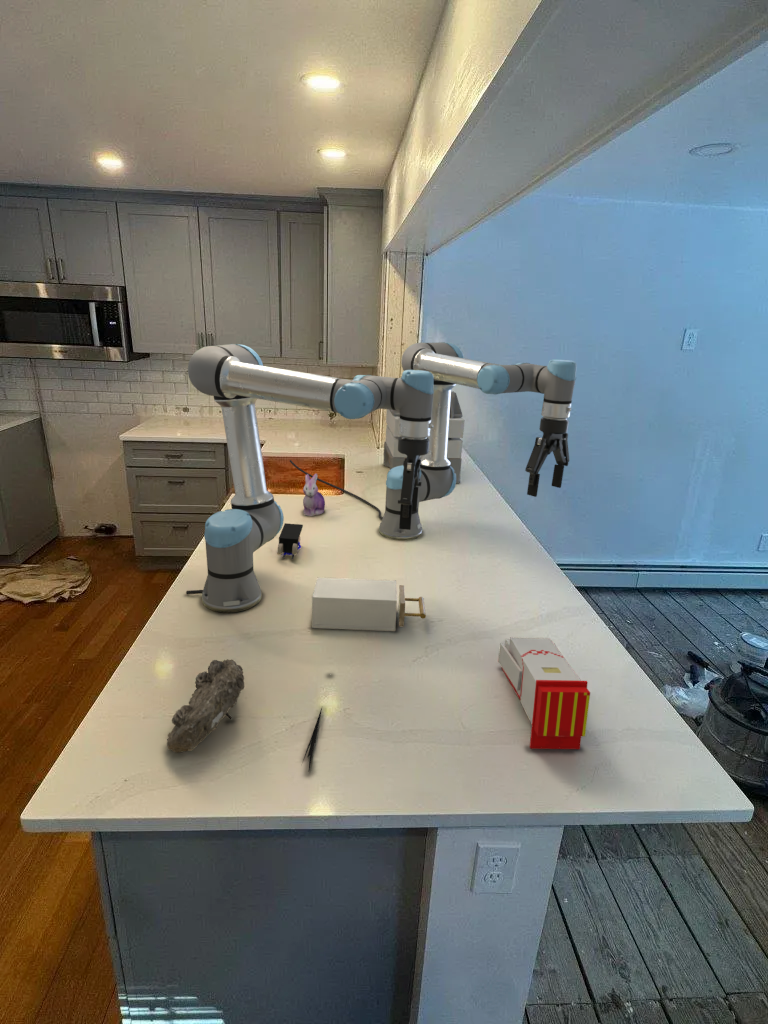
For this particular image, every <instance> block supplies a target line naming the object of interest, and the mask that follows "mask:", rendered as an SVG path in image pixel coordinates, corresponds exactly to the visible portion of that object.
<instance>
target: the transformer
mask: <svg viewBox="0 0 768 1024" xmlns="http://www.w3.org/2000/svg"><path fill="white" fill-rule="evenodd" d="M385 414H386V415H385V423H386V428H385V438H384V442H383V466H384V467H388V468H389V471H390V470H391V469H392V468H394V467H397V466H402V465H403V463H404V461H405V458H407V455H405V454H401V453H400V452H399V451H398V438H399V437H400V435H399V433H398V432H399V418H400V410H391V409H386V413H385ZM464 429H465V419H464V418H463V411H462V408H461V405H460V402H459V398H458V395H457V392H455V391H453V390H451V400H450V415H449V430H448V445H447V459H448V460H449V461H450V463H451V464H450V466H451V467H452V468H453V469H454V473H455V474H456V484H459V483H461V472H462V461H463V460H462V453H463V442H464V441H463V440H462V439H463V438H464V431H465V430H464ZM422 456H423V455H422ZM422 456H420V459H421V458H422Z"/></svg>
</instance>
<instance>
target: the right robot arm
mask: <svg viewBox="0 0 768 1024" xmlns="http://www.w3.org/2000/svg"><path fill="white" fill-rule="evenodd" d="M577 367H578V365H577V362H575V361H574V360H569V359H550V360H549V361H548V364H547V365H541V364H535V363H530V362H518V363H517V362H516V363H515V364H499V363H492V362H488V361H487V362H486V361H480V360H475V359H470V358H465V355H464V353H463V351H462V350H461V348H460V347H459V346H458V345H457V344H455V343H452V342H445V341H444V342H440V341H439V342H415V343H413V344H410V345H409V346H408V347H406V349H405V350H404V351H403V352H402V356H401V368H402V371H405V370H423V371H428V372H431V373H432V374H433V376H434V385H433V391H434V394H433V402H432V413H431V422H430V424H433V428H430V436H429V437H427V438H429V452H428V453H427V454H426V455H423V456H422V458H421V459H420V460H421V466H420V481H419V482H421V486H416V487H419V488H418V501H417V511H412V517H411V529H410V530H406V529H399V524H400V508H401V504H398V500H400V499H401V490H402V482H403V470H404V467H403V465H402V466H397V467H394V468H392V469H391V470H390V469H389V470H388V472H387V475H386V479H385V504H384V505H385V507H384V508H385V509H384V513H383V515H382V511H381V510H380V509H379V508H378V506H376V505H374V504H372V503H370V502H369V501H367V500H366V499H364V498H362V497H360V496H358V495H357V494H354V493H352V492H351V491H348V490H346V489H344V488H341V487H340V486H337V485H334V484H332V483H330V482H327V481H325V480H323V479H321V478H319V477H317V481H318V482H320V483H322V484H324V485H327V486H330V487H332V488H335V489H336V490H339V491H341V492H343V493H345V494H347V495H350V496H352V497H354V498H356V499H357V500H360V501H362V502H363V503H365V504H366V505H368V506H370V507H372V508H373V509H374V510H375V511H377V513H378V518H379V519H380V520H381V522H379V526H378V533H379V534H380V535H381V536H382V537H385V538H387V539H389V540H395V541H410V540H415V539H418V538H420V537H421V536H422V535H423V524H422V522H421V518H420V515H419V507H420V506H419V505H420V503H421V502H426V501H427V502H428V501H432V500H438V499H442V498H444V497H447V496H449V495H451V494H452V492H454V490H455V488H456V485H457V483H456V474H455V473H454V469H453V468H452V467H451V466H450V464H451V463H450V461H449V460H448V459H447V445H448V430H449V415H450V400H451V391H452V389H453V388H455V386H457V385H458V386H459V385H460V386H464V387H469V388H473V389H478V390H480V391H481V392H482V393H483V394H487V395H500V394H511V393H512V394H513V393H525V392H531V393H538V394H542V395H543V400H542V407H541V413H540V415H541V416H542V417H541V418H540V421H539V427H538V428H539V431H540V432H542V436H541V437H540V436H536V437H535V441H534V446H533V447H532V451H531V453H530V456H529V459H528V461H527V463H526V467H525V470H524V471H525V472H526V473H529V477H528V484H527V491H526V495H527V496H531V497H534V498H536V497H538V491H539V483H540V476H541V474H540V473H539V472H540V470H541V469H542V467H543V465H544V463H545V461H546V459H547V457H548V455H550V454H551V453H552V454H553V457H554V460H555V464H554V465H553V472H552V479H551V487H555V488H559V489H561V488H562V484H563V478H564V471H565V467H568V466H569V463H570V452H569V440H568V439H569V433H568V430H569V429H568V428H569V422H570V421H569V418H570V416H571V411H572V402H573V396H574V395H573V394H574V389H575V385H576V380H577ZM289 462H290V464H291V465H292V466H293V467H295V468H296V469H297V470H298V471H300V472H301V473H302V474H304V475H305V476H306V475H307V474H308V475H309V477H310V478H312V477H313V476H314V475H312V474H311V473H308V472H307V471H305V470H303V469H302V468H301V467H299V466H298V465H297V464H296V463H294V461H292V459H289ZM404 499H407V498H404Z"/></svg>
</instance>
